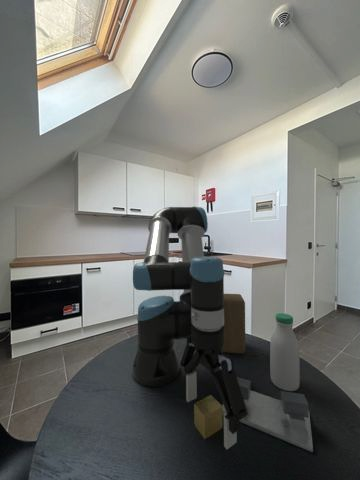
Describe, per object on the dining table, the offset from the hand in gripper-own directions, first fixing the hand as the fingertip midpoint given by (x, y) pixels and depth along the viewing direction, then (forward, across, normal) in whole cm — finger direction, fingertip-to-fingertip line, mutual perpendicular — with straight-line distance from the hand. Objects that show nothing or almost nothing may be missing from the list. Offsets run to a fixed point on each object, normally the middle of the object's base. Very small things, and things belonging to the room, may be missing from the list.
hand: (208, 419), depth 46 cm
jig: (+2, +4, +14) cm, 15 cm away
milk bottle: (+2, 0, +28) cm, 28 cm away
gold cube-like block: (+2, 0, 0) cm, 2 cm away
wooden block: (+2, -22, +29) cm, 37 cm away
